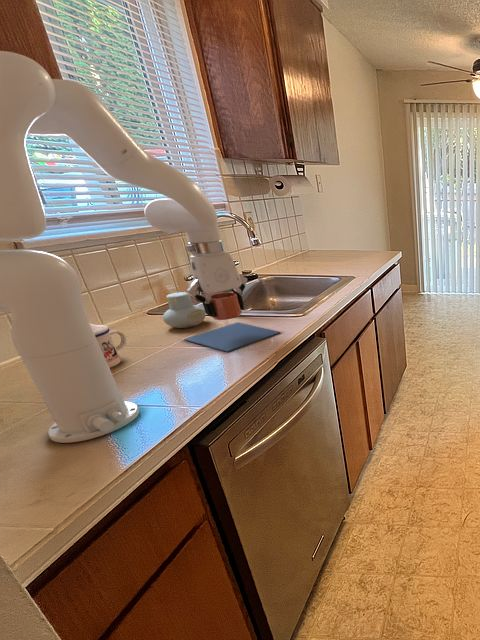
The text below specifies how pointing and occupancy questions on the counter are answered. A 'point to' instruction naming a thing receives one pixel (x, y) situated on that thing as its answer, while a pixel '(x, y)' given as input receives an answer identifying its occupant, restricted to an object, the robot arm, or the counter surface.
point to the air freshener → (182, 311)
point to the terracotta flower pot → (226, 305)
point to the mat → (232, 337)
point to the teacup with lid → (108, 343)
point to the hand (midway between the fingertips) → (226, 311)
